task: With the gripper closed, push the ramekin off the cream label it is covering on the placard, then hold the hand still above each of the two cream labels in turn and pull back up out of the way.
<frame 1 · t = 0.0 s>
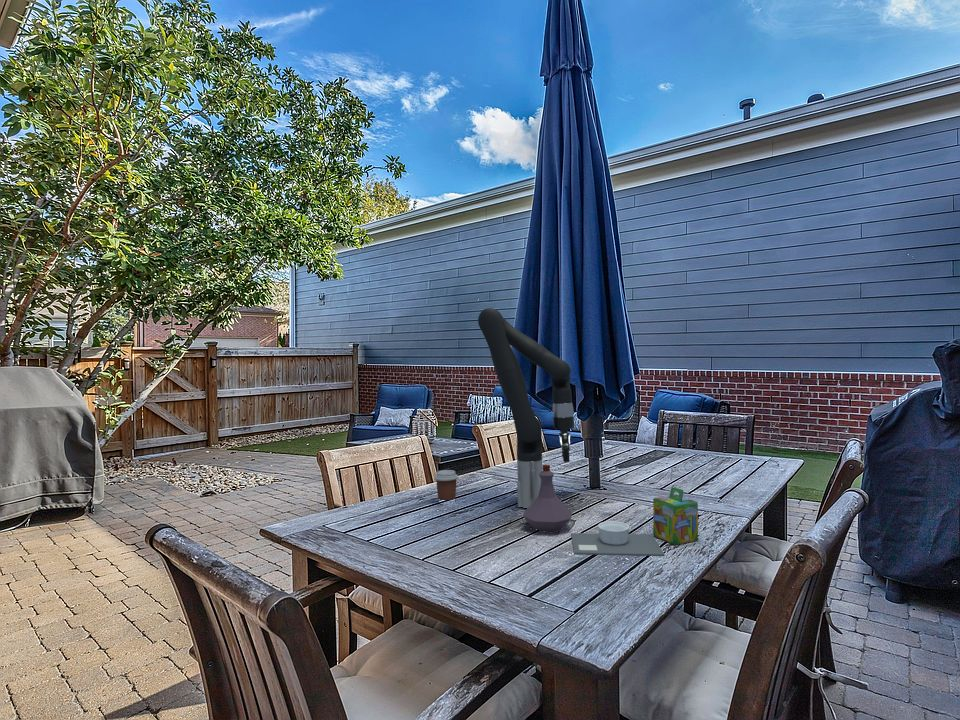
hand: (565, 459, 185), 17 cm above the table, tool pointing down, fingers open, 8 cm apart
label placard: (614, 544, 146), on the table
flask: (547, 528, 162), on the table
chalk box: (675, 539, 150), on the table
coffee cup: (446, 503, 194), on the table
ramekin: (613, 541, 148), resting on label placard
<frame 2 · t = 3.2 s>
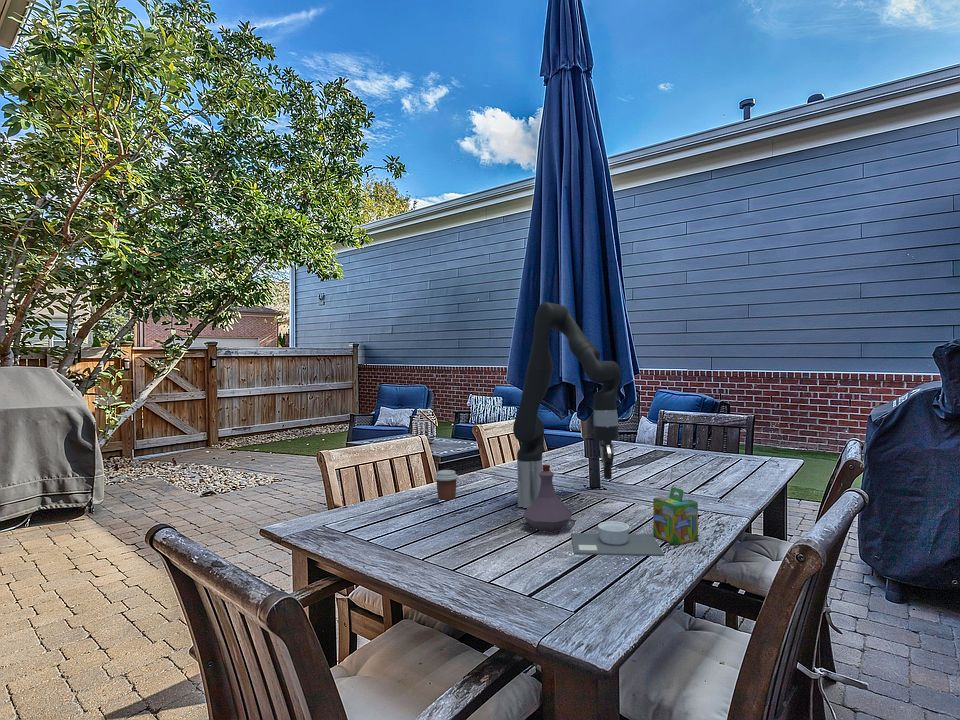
hand: (607, 478, 160), 16 cm above the table, tool pointing down, fingers closed
nothing on the table moved.
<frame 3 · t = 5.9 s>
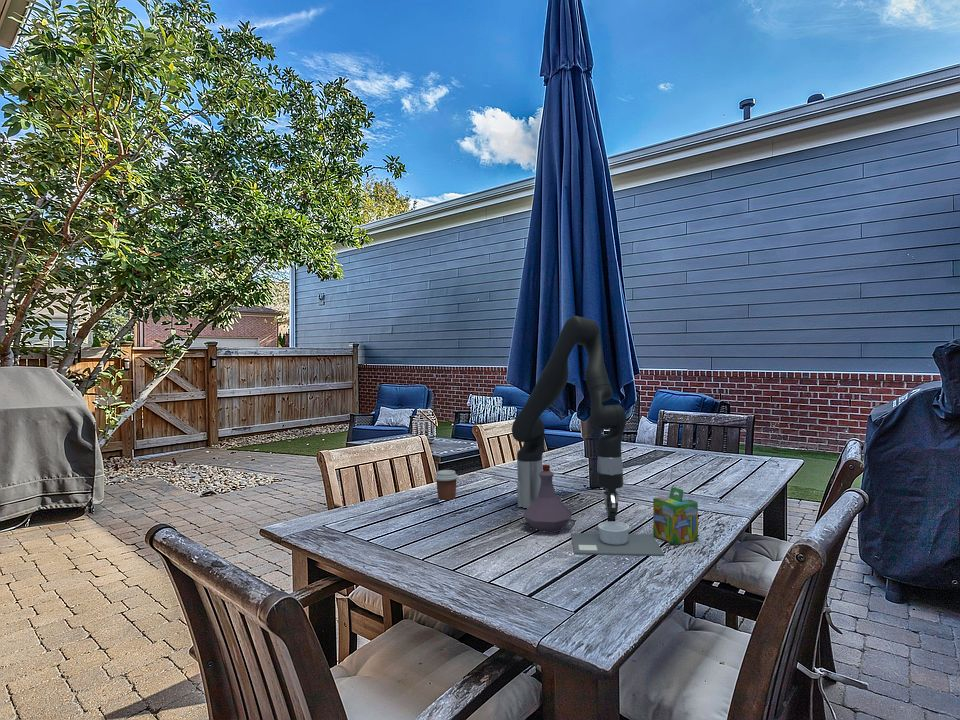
hand: (611, 527, 154), 2 cm above the table, tool pointing down, fingers closed
ramekin: (613, 541, 148), resting on label placard, touching gripper
everything else where it was.
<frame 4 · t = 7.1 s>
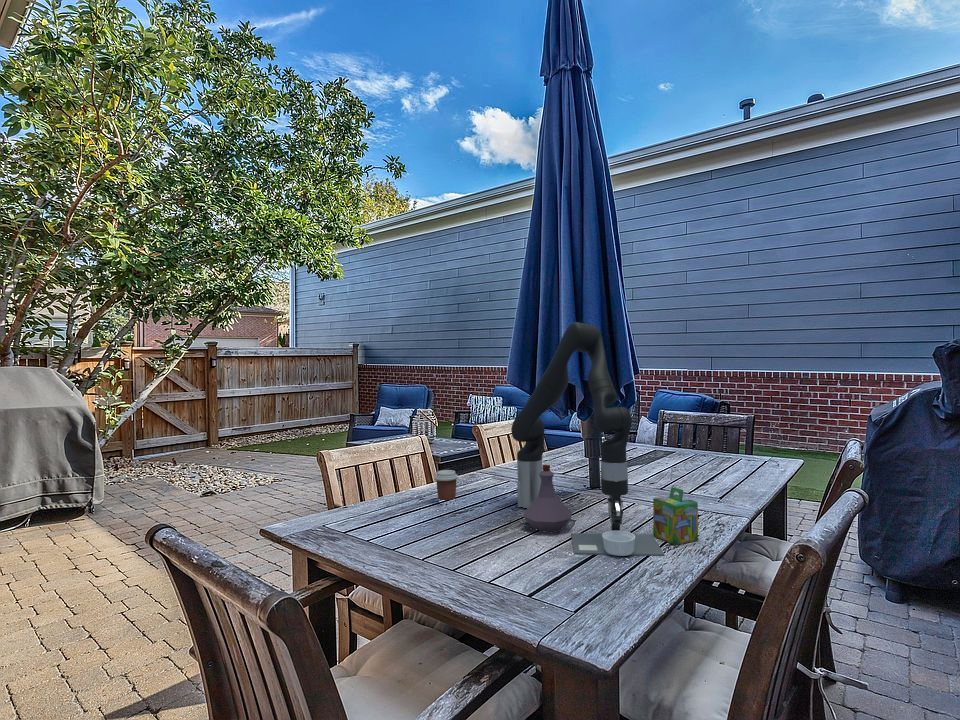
hand: (615, 536, 146), 2 cm above the table, tool pointing down, fingers closed
ramekin: (619, 551, 140), resting on label placard, touching gripper
everything else where it was.
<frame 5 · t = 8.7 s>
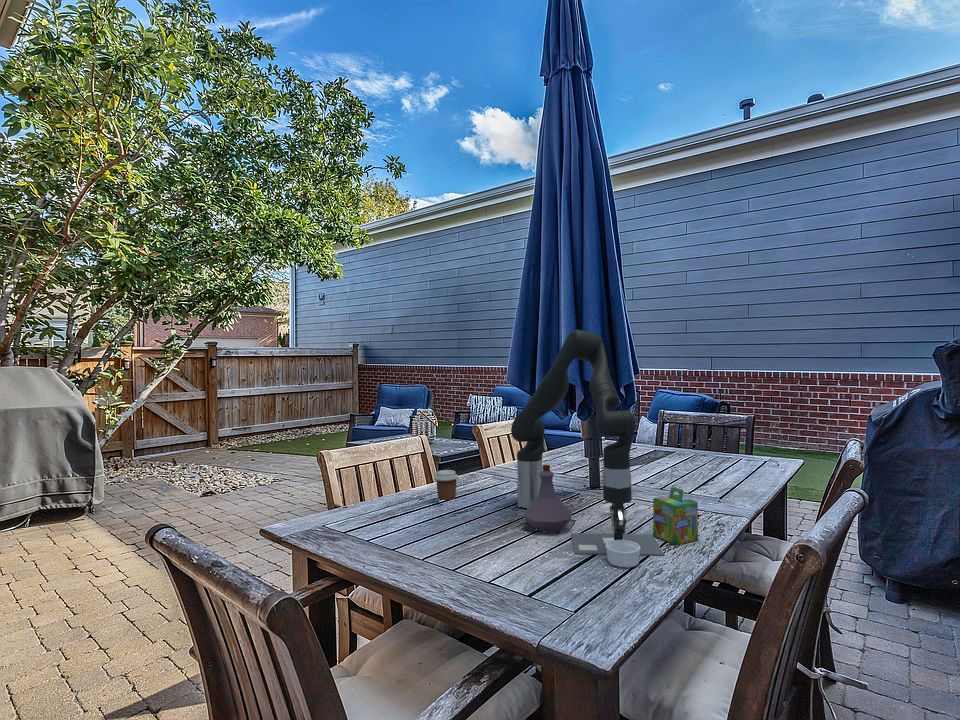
hand: (618, 545, 140), 2 cm above the table, tool pointing down, fingers closed
ramekin: (623, 562, 133), on the table, touching gripper
everything else where it was.
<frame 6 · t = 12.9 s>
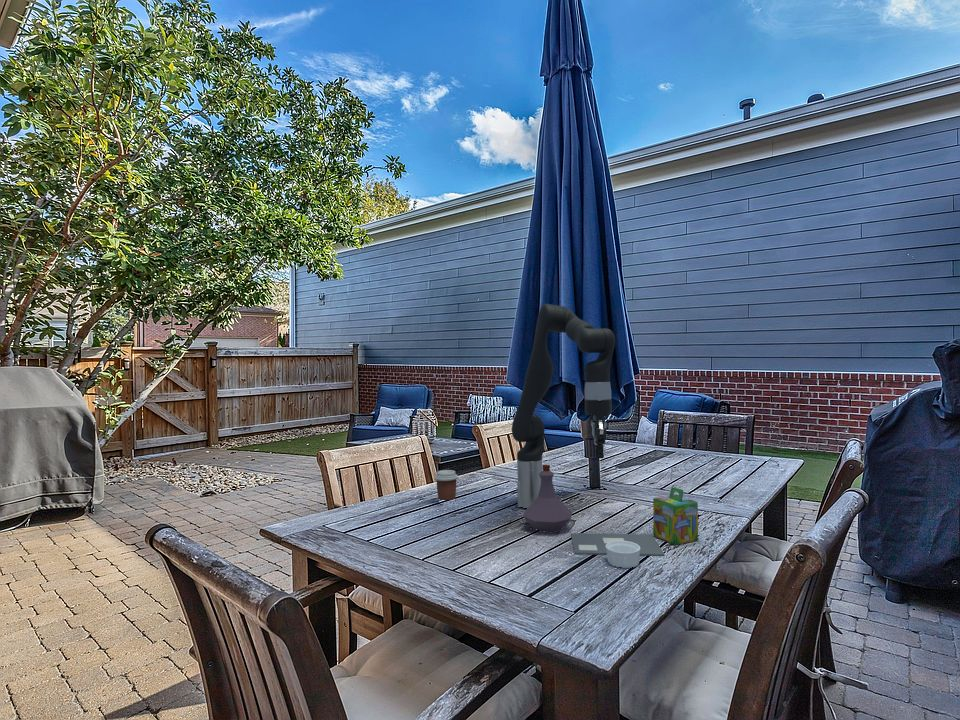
hand: (599, 457, 146), 25 cm above the table, tool pointing down, fingers closed
ramekin: (623, 563, 133), on the table
everything else where it was.
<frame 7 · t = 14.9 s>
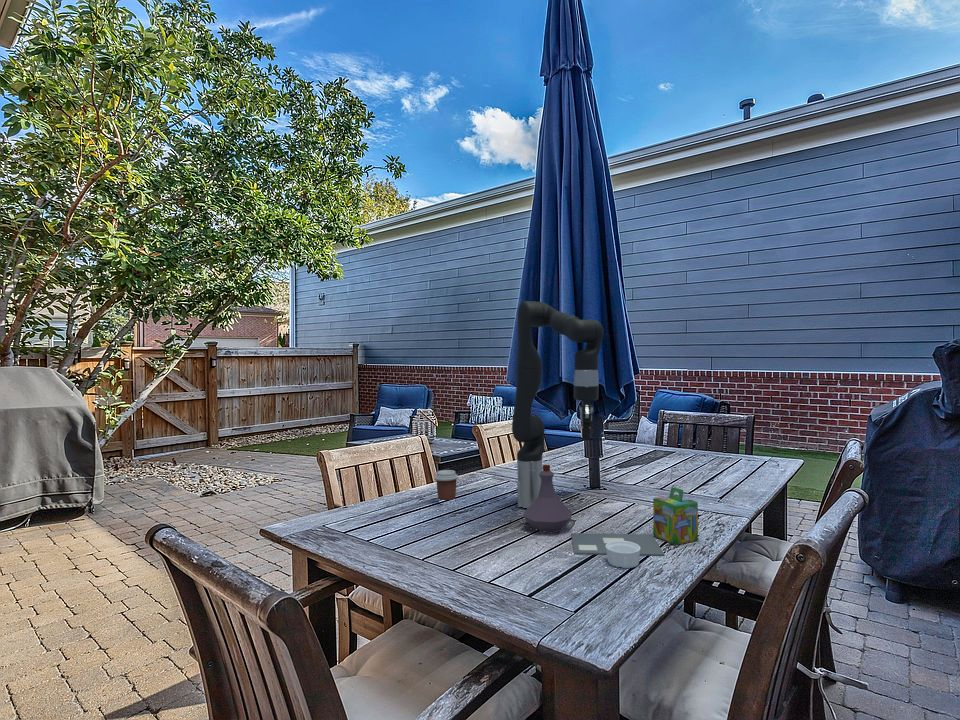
hand: (586, 440, 157), 29 cm above the table, tool pointing down, fingers closed
nothing on the table moved.
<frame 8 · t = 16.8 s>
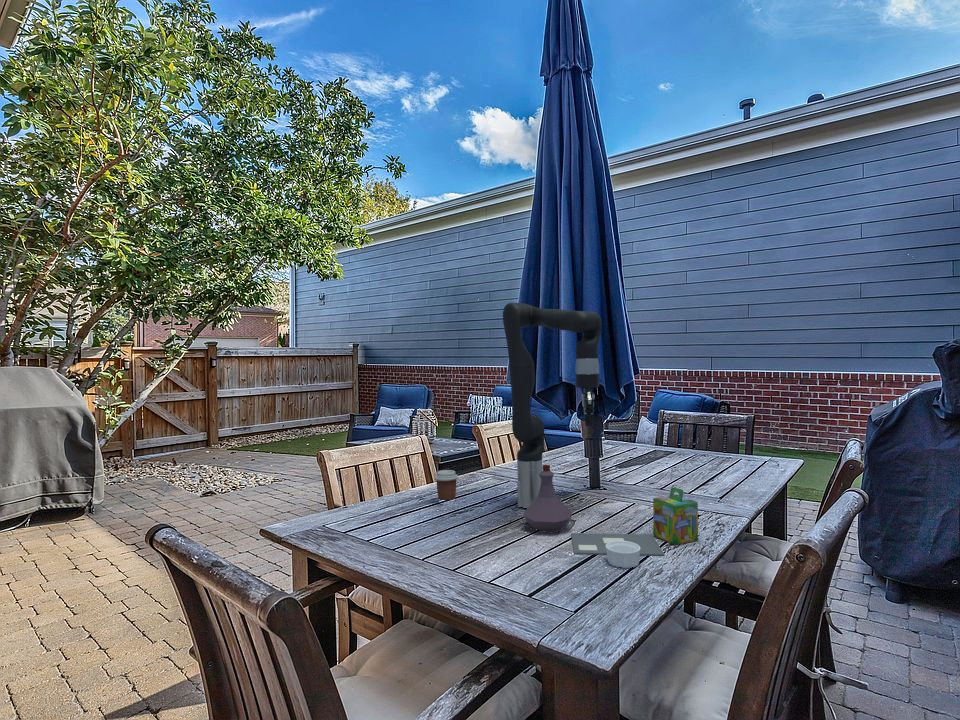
hand: (588, 425, 165), 32 cm above the table, tool pointing down, fingers closed
nothing on the table moved.
at the end: ramekin inside the target area (0.6 cm from its centre), on the table; ramekin tilted 0° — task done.
